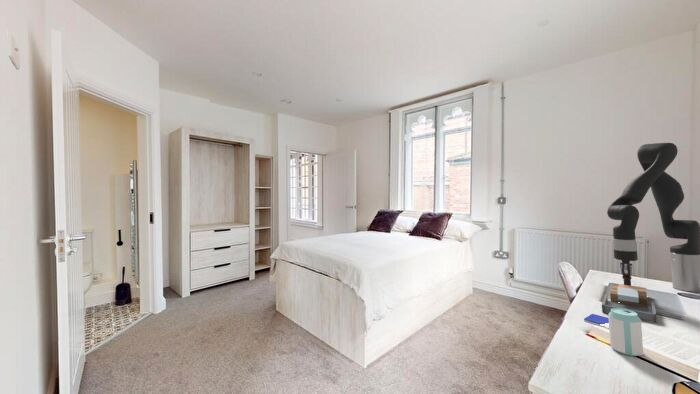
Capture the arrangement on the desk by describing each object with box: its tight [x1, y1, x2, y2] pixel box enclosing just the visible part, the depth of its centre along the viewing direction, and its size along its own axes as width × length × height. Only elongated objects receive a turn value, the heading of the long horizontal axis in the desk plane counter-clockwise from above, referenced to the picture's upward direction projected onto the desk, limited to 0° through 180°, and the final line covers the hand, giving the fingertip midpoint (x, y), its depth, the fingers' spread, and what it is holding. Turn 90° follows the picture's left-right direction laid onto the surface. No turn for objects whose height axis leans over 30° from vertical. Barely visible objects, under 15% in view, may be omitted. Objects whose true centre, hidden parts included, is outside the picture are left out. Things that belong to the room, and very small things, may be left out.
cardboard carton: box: [609, 282, 649, 308], centre depth 121 cm, size 18×11×4 cm, turn 133°
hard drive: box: [583, 313, 609, 326], centre depth 99 cm, size 2×8×12 cm
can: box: [607, 308, 644, 357], centre depth 82 cm, size 7×7×12 cm
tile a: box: [618, 283, 639, 296], centre depth 118 cm, size 6×6×2 cm
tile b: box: [618, 287, 639, 303], centre depth 113 cm, size 6×6×2 cm
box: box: [601, 294, 658, 324], centre depth 109 cm, size 16×15×3 cm
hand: (627, 287), depth 121 cm, fingers closed
